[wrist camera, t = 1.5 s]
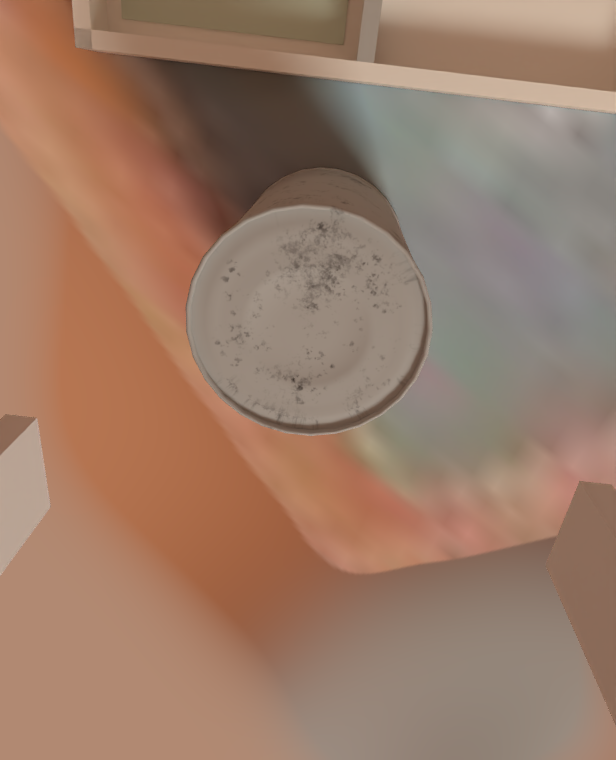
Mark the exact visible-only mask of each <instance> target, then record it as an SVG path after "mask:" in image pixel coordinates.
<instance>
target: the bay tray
mask: <svg viewBox="0 0 616 760" xmlns="http://www.w3.org/2000/svg"><path fill="white" fill-rule="evenodd" d="M72 9H73V22H74V35H75V47H76V48H81V49H86V50H90V51H95V52H102V53H110V54H119V55H127V56H135V57H144V58H152V59H160V60H169V61H177V62H185V63H194V64H202V65H210V66H219V67H227V68H235V69H244V70H252V71H260V72H269V73H277V74H285V75H294V76H302V77H310V78H319V79H327V80H335V81H344V82H352V83H360V84H369V85H377V86H386V87H394V88H402V89H411V90H419V91H427V92H436V93H444V94H452V95H461V96H469V97H477V98H486V99H494V100H502V101H511V102H519V103H527V104H536V105H544V106H552V107H561V108H569V109H577V110H586V111H594V112H602V113H611V114H616V0H72Z"/></svg>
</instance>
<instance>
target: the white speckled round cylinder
mask: <svg viewBox="0 0 616 760" xmlns="http://www.w3.org/2000/svg"><path fill="white" fill-rule="evenodd" d="M432 331H433V329H432V308H431V301H430V298H429V294H428V291H427V288H426V284H425V281H424V278H423V275H422V274H421V272H420V270H419V269H418V267H417V265H416V264H415V262H414V260H413V258H412V256H411V253H410V251H409V249H408V246H407V244H406V241H405V239H404V237H403V234H402V231H401V228H400V225H399V221H398V218H397V216H396V214H395V212H394V210H393V209H392V207H391V205H390V204H389V202H388V200H387V199H386V198H385V197H384V196H383V195H382V194H381V193H380V192H379V191H378V190H377V189H376V188H375V186H373V185H372V184H370V183H369V182H367V181H366V180H364V179H362V178H361V177H359V176H358V175H355V174H352V173H349V172H346V171H343V170H340V169H333V168H323V167H318V168H311V169H304V170H299V171H297V172H294V173H292V174H290V175H287V176H285V177H282V178H281V179H280V180H278V181H277V182H275V183H274V184H273V185H271V186H270V187H269V188H267V189H266V190H265V191H264V193H263V194H262V195H261V196H260V197H259V198H258V200H257V201H256V202H255V203H254V205H253V206H252V207H251V208H250V209H249V210H248V212H247V213H246V214H245V215H244V216H243V217H242V218H241V219H240V220H239V221H238V222H237V223H236V224H235V225H234V226H233V227H231V228H230V229H229V230H227V231H226V232H224V233H223V234H222V235H221V236H220V237H219V238H218V239H217V241H216V242H215V243H214V244H213V245H212V247H211V248H210V249H209V250H208V251H207V252H206V254H205V255H204V256H203V258H202V260H201V262H200V264H199V266H198V268H197V270H196V272H195V274H194V276H193V278H192V280H191V284H190V289H189V294H188V298H187V303H186V332H187V336H188V339H189V343H190V347H191V351H192V355H193V358H194V360H195V361H196V363H197V365H198V367H199V369H200V371H201V373H202V375H203V377H204V379H205V380H206V381H207V383H208V384H209V385H210V386H211V387H212V389H213V390H214V391H215V392H216V394H217V395H218V396H219V397H220V398H221V399H222V400H223V401H224V402H226V403H227V404H228V405H229V406H230V407H232V408H233V409H234V410H235V411H237V412H238V413H239V414H241V415H242V416H244V417H246V418H248V419H250V420H252V421H254V422H256V423H258V424H260V425H261V426H264V427H268V428H271V429H274V430H277V431H281V432H284V433H290V434H299V435H309V436H313V435H325V434H336V433H339V432H343V431H346V430H350V429H353V428H357V427H360V426H362V425H364V424H366V423H368V422H370V421H372V420H373V419H375V418H377V417H379V416H381V415H383V414H384V413H385V412H386V411H387V410H389V409H390V408H391V407H392V406H393V405H395V404H396V403H397V402H398V401H399V400H401V399H402V397H403V396H404V395H405V393H406V392H407V391H408V390H409V388H410V387H411V386H412V384H413V383H414V382H415V381H416V379H417V377H418V375H419V373H420V371H421V369H422V367H423V364H424V362H425V360H426V358H427V356H428V351H429V346H430V341H431V336H432Z"/></svg>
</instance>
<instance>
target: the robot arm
mask: <svg viewBox="0 0 616 760" xmlns="http://www.w3.org/2000/svg"><path fill="white" fill-rule="evenodd" d="M49 508H50V500H49V493H48V487H47V480H46V474H45V467H44V461H43V454H42V449H41V441H40V434H39V427H38V421H37V418H34V417H33V418H32V417H25V416H16V415H7V414H6V415H4V416H3V417H2V418H1V419H0V575H1V574H2V572H3V571H4V570H5V568H6V567H7V565H8V564H9V563H10V562H11V560H12V559H13V557H14V556H15V555H16V553H17V552H18V551H19V549H20V548H21V547H22V545H23V544H24V542H25V541H26V540H27V538H28V537H29V536H30V534H31V533H32V531H33V530H34V529H35V527H36V526H37V525H38V523H39V522H40V521H41V519H42V518H43V517H44V515H45V514H46V512H47V511H48V509H49ZM546 567H547V570H548V572H549V574H550V577H551V579H552V581H553V583H554V586H555V588H556V590H557V593H558V595H559V597H560V600H561V602H562V604H563V606H564V609H565V611H566V613H567V615H568V618H569V620H570V622H571V625H572V627H573V629H574V631H575V633H576V636H577V638H578V641H579V643H580V645H581V647H582V650H583V652H584V654H585V657H586V659H587V661H588V663H589V666H590V668H591V670H592V672H593V675H594V677H595V679H596V681H597V684H598V686H599V688H600V691H601V693H602V695H603V698H604V700H605V702H606V704H607V707H608V709H609V711H610V714H611V716H612V718H613V720H614V722H615V725H616V490H615V489H614V487H613V486H612V485H610V484H601V483H593V482H584V481H579V484H578V486H577V489H576V491H575V494H574V496H573V499H572V501H571V503H570V506H569V508H568V511H567V513H566V516H565V518H564V521H563V523H562V526H561V528H560V530H559V533H558V535H557V538H556V540H555V543H554V545H553V548H552V550H551V553H550V555H549V558H548V560H547V562H546Z"/></svg>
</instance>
